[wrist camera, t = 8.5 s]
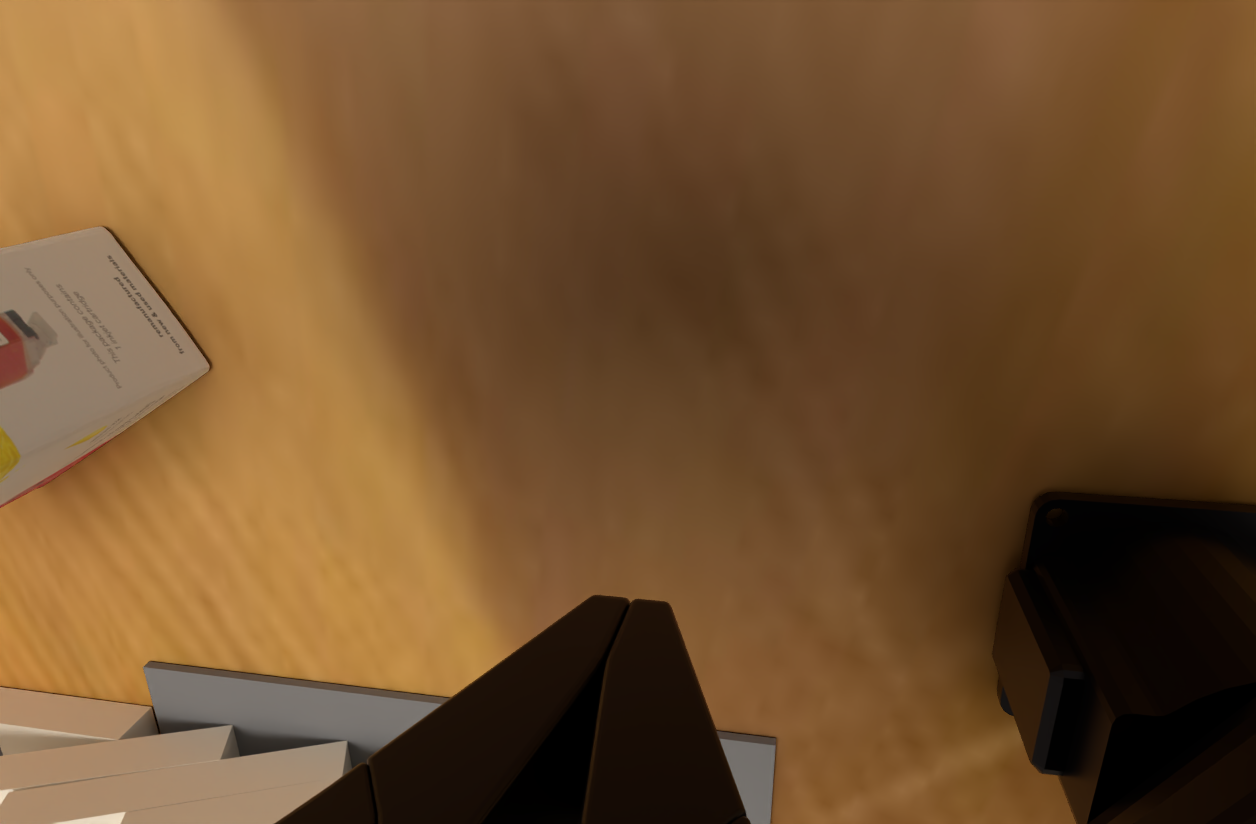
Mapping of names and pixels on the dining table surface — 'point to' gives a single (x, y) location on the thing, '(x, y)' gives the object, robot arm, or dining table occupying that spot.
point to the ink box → (79, 354)
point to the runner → (360, 720)
